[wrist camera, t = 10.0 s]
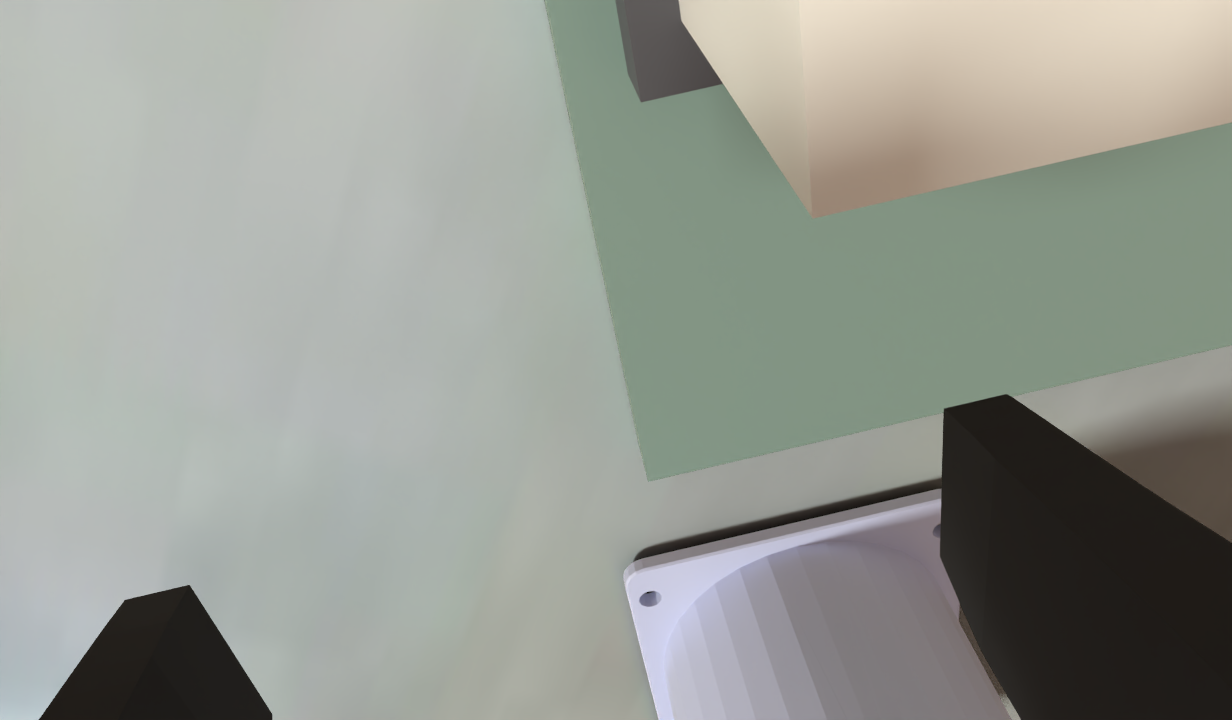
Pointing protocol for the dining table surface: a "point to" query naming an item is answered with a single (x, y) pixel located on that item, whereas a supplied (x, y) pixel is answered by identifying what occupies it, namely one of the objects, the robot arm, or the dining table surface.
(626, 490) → the dining table surface
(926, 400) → the header board
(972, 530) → the robot arm
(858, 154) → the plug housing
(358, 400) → the dining table surface
